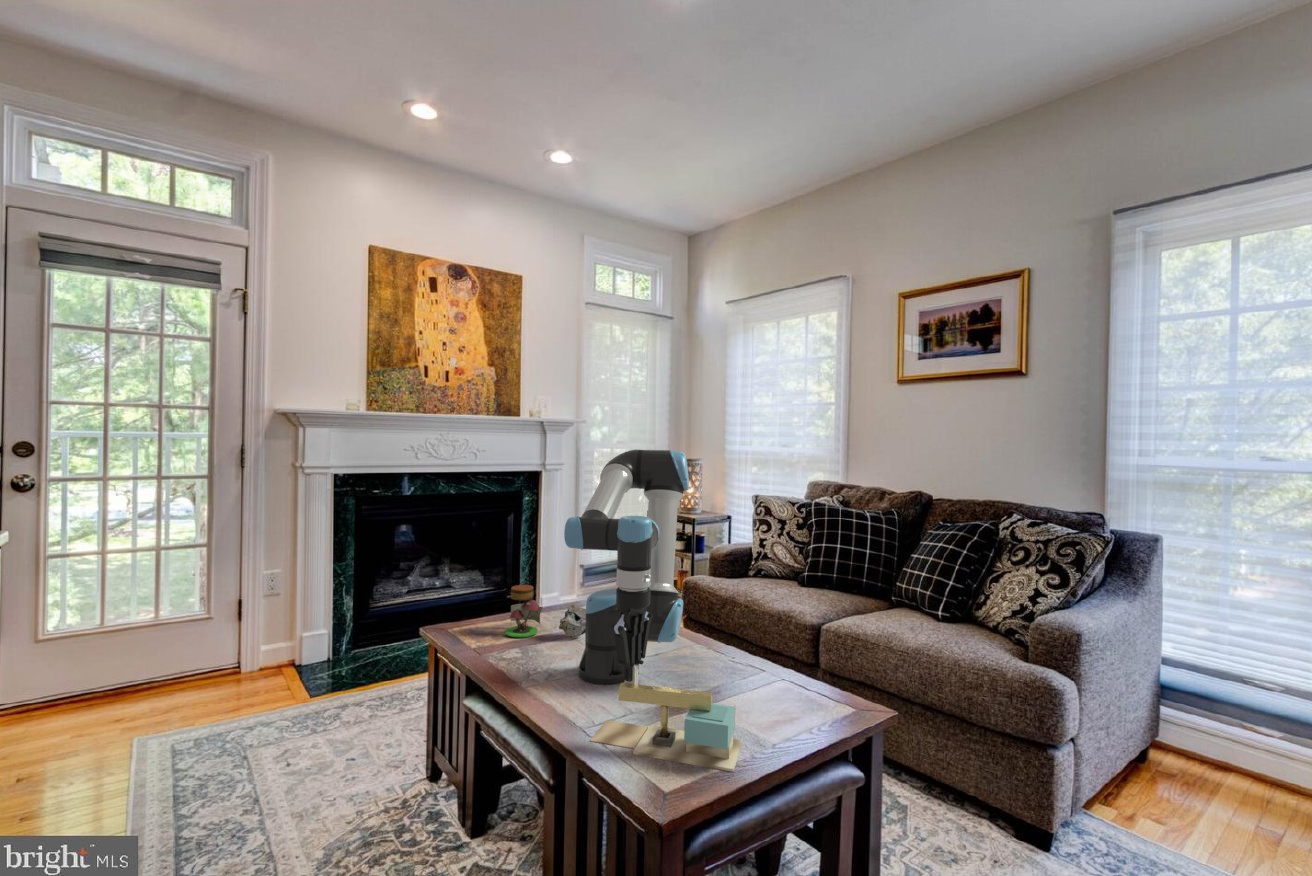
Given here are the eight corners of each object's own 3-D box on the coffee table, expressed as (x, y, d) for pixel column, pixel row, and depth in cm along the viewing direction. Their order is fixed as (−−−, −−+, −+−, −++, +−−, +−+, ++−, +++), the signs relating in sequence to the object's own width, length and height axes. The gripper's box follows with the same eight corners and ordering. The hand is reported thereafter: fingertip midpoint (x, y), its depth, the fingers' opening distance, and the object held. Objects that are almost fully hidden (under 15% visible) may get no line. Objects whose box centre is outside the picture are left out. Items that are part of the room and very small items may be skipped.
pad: (590, 741, 131) (590, 740, 131) (606, 720, 141) (606, 719, 141) (633, 749, 128) (633, 748, 128) (647, 727, 138) (648, 726, 138)
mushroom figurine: (538, 638, 196) (539, 592, 196) (499, 637, 196) (500, 591, 196) (545, 627, 208) (546, 583, 208) (508, 626, 208) (509, 582, 208)
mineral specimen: (570, 644, 191) (571, 612, 191) (555, 638, 197) (556, 607, 197) (594, 637, 198) (595, 606, 198) (579, 631, 204) (579, 602, 204)
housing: (633, 754, 126) (633, 737, 126) (650, 727, 138) (650, 712, 138) (733, 772, 120) (733, 754, 120) (742, 743, 132) (742, 727, 132)
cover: (684, 742, 125) (684, 717, 125) (694, 722, 133) (694, 699, 133) (727, 749, 122) (728, 724, 122) (734, 729, 131) (735, 706, 131)
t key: (618, 736, 132) (619, 686, 132) (620, 732, 134) (621, 682, 134) (709, 748, 128) (711, 696, 128) (710, 743, 130) (712, 692, 130)
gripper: (630, 596, 126) (628, 709, 126) (663, 584, 137) (660, 688, 137) (602, 590, 130) (599, 700, 131) (635, 579, 141) (633, 680, 141)
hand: (631, 693), depth 134 cm, fingers closed, pressing on t key
